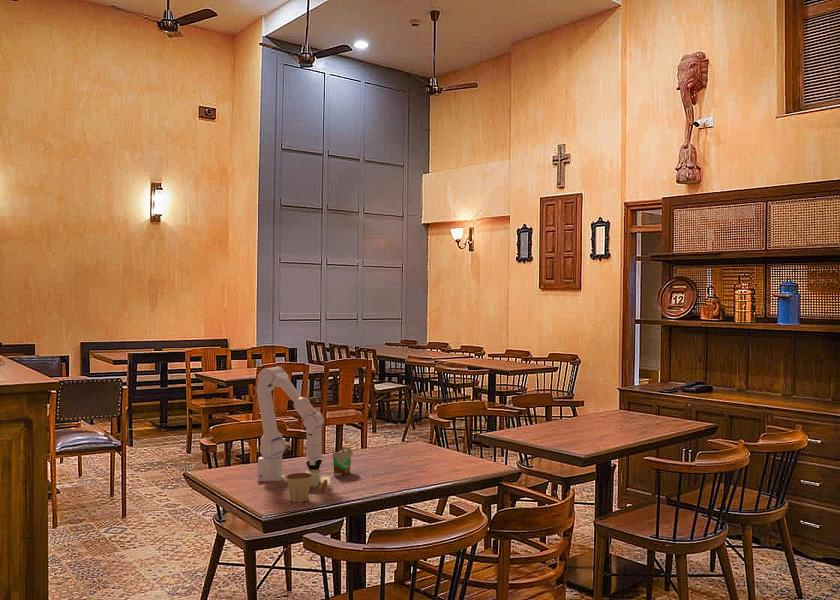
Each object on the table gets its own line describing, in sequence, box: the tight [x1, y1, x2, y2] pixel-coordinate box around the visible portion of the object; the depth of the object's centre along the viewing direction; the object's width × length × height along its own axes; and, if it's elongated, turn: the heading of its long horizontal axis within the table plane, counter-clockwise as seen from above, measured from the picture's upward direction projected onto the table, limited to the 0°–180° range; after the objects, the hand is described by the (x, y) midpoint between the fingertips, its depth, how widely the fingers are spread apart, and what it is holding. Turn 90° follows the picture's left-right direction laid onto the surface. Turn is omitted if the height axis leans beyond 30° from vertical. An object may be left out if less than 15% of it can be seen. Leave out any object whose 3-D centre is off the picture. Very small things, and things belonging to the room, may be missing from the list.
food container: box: [332, 446, 354, 477], centre depth 283 cm, size 12×6×10 cm, turn 168°
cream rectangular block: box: [305, 468, 321, 487], centre depth 263 cm, size 5×10×5 cm, turn 3°
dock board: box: [309, 476, 332, 494], centre depth 267 cm, size 12×23×2 cm, turn 3°
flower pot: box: [285, 472, 313, 503], centre depth 247 cm, size 9×9×9 cm
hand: (314, 479), depth 270 cm, fingers closed
